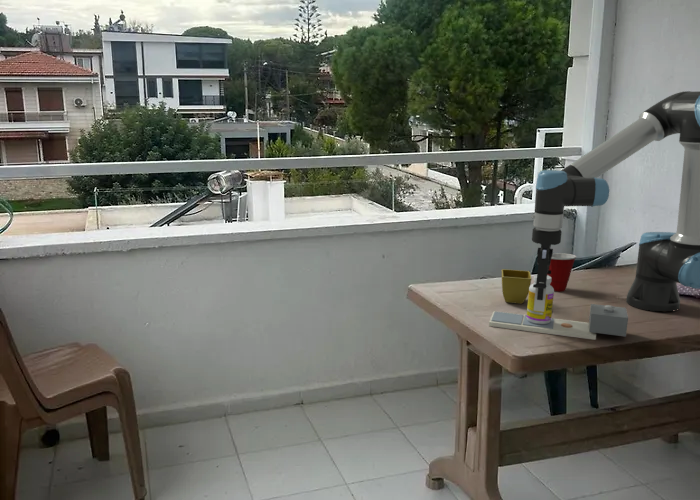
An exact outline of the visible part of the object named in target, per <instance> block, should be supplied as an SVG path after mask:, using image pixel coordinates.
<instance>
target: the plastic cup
mask: <svg viewBox="0 0 700 500" xmlns="http://www.w3.org/2000/svg"><path fill="white" fill-rule="evenodd" d="M576 259H577V255H574V254H572V253H571V254H570V253H564V252H553V254H552V258H551V262H550V266H549V270H551V274H547V275H549V276H550V277H551V278H552V279H551V283H550V285H551V286H552V287H553V289H554V292H561V293H562V292H565V291H566V289H567V287H568V283H569V280H570V276H571V273H572V268H573V267H574V263H575V260H576Z"/></svg>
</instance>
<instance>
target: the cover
mask: <svg viewBox="0 0 700 500" xmlns="http://www.w3.org/2000/svg"><path fill="white" fill-rule="evenodd" d="M588 316H589V317H588V318H589V319H588V323H589V332H594V333H596V334H602V335H611V336H617V337H618V336H619V337H627V331H628V323H629V315H628V311H627V308H626V307H622V306H614V305H611V304H605V305H604V304H597V303H596V304H595V303H590V307H589V315H588Z"/></svg>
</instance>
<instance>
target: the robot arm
mask: <svg viewBox="0 0 700 500" xmlns="http://www.w3.org/2000/svg"><path fill="white" fill-rule="evenodd" d="M678 134H679V140H678V142H679V144H680V145H681V146H682V147H683V149H684V150H683V151H684V153H683V160H682V161H683V163H682V173H681V184H680V194H679V204H678V213H677V214H678V215H677V224H676V225H677V227H676V232H671V231H647V232H644V233H642V234H641V236H640V240H639V243H638V253H637V255H638V256H637V262H636V270H635V271H636V272H635V277H634V279H633V282H632V283H631V286H630V287H629V290H628V292H627V294H626V299H625V302H626V303H627V304H628V305H630V306H631V307H633V308H636V309H640V310H645V311H648V310H650V311H649V312H655V311H673V310H677V309H679V310H680V306H681V299H680V293H679V289H678V285H677V283H678V284H681V285H682V286H684V287H687V288H688V287H689V288H692V289H695V290H699V289H700V91H692V90H691V91H689V90H688V91H687V90H686V91H685V90H684V91H680V92H676V93H673V94H671V95H669V96H667V97H666V98H664V99H662V100H660V101H658V102H656V103H654V104H653V105H652V106H650V107H649V108H647V109H646V110H644V111H643V112H641V113H640V114H639V116H638V119H637V120H635V121H634V122H632V123H631V124H630V125H628V126H626V127H625V128H623V129H622V130H620V131H619V132H617V133H616V134H614V135H612V136H611V137H609V138H608V139H606V140H605V141H604V142H602V143H600V144H598V146H596V147H595V148H593V149H592V150H590V151H588V152H587V153H586V154H584V155H583V156H581V157H579V158H578V159H576V160H575V161H573V162H572V163H571V164H569V165H567V166H565V167H564V168H562V169H561V170H555V169H554V170H553V169H544V170H543V169H542V170H541V171H539V172H538V173H537V178H536V185H535V200H534V201H535V202H534V214H532V215H531V218H532V219H533V222H532V223H533V224H532V226H533V228H532V231H531V232H532V233H531V241H532V243H535V244H539V245H540V247H537V252H536V256H537V260H536V265H537V274H536V275H537V282H536V284H534V283H532V284H533V287H535V288H536V289H535V300H534V311H542V312H544V308H545V297H546V281H547V276H549V275H547V274H551V270H549V266H550V262H551V258H552V254H553V253H554V252H553V251H554V249H553V248H551V246H556V245H559V244H561V242H562V241H561V240H562V234H563V233H562V230H561V229H562V228H563V224H564V212H565V207H592V208H593V207H600V206H603V205H605V204H606V203H607V202H608V200H609V198H610V197H609V196H610V186H609V183H608V181H606V180H605V179H604V178H599V177H600V176H602V175H603V174H605V173H606V172H608V171H610V170H611V169H612V168H615V167H616V166H617V165H619V164H620V163H623V161H625V160H626V159H628V158H629V157H631V156H633V155H634V154H635V153H637V152H638V151H640V150H641V149H643V148H644V147H646V146H648V145H649V144H651V143H653V142H654V141H655V142H661V141H662V140H663V139H665V138H667V137H669V136H672V135H678ZM539 282H542V283H539ZM677 311H678V310H677ZM673 312H674V311H673Z"/></svg>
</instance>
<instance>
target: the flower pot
mask: <svg viewBox="0 0 700 500" xmlns="http://www.w3.org/2000/svg"><path fill="white" fill-rule="evenodd" d="M532 279H533V278H532V275H531V272H530V271H529V270H521V269H519V270H518V269H516V270H515V269H506V268H505V269H501V288H502V291H501V292H502V296H503V299H504V302H506V303H508V304H521V305H522V304H524V302H525V301H526V299H528V296H529V287H530V285H532Z"/></svg>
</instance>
